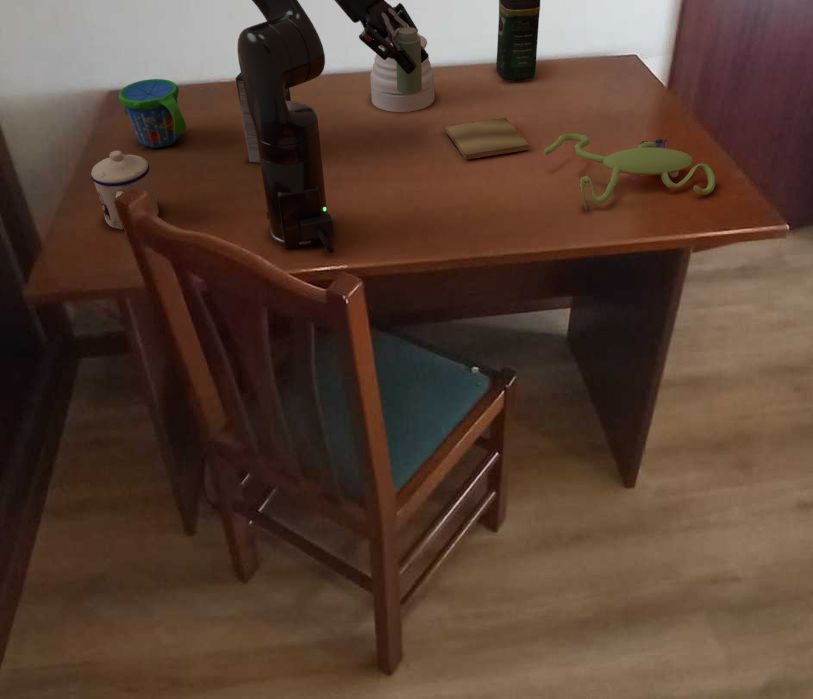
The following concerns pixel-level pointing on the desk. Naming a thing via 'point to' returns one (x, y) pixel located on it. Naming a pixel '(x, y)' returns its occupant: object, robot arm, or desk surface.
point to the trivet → (486, 138)
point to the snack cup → (153, 111)
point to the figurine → (638, 164)
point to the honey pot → (386, 86)
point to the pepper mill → (413, 49)
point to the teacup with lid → (121, 182)
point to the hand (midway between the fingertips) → (418, 65)
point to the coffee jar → (517, 39)
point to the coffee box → (250, 121)
